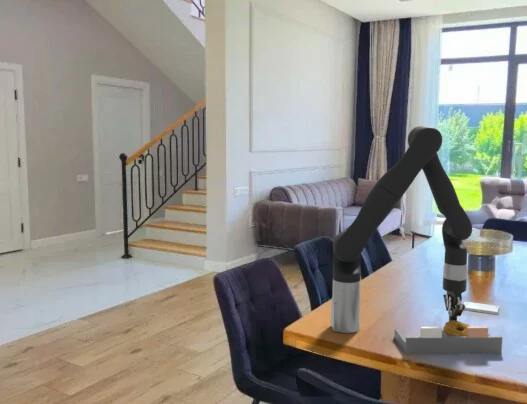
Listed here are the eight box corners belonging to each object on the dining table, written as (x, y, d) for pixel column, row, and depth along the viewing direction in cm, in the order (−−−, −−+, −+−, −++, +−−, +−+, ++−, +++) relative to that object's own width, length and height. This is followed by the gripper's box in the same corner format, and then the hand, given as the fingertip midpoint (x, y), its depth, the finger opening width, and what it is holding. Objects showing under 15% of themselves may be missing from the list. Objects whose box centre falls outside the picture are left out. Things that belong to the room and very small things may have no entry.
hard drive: (499, 305, 199) (464, 300, 205) (498, 311, 192) (462, 306, 197) (499, 309, 199) (464, 304, 205) (497, 316, 192) (461, 310, 197)
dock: (406, 354, 157) (407, 328, 156) (394, 337, 170) (395, 313, 169) (501, 353, 157) (503, 327, 156) (482, 336, 170) (483, 313, 169)
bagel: (442, 341, 166) (442, 327, 166) (443, 330, 177) (444, 316, 176) (475, 346, 163) (476, 332, 162) (474, 334, 173) (475, 321, 173)
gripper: (436, 271, 181) (434, 319, 183) (451, 281, 168) (449, 333, 170) (457, 271, 181) (455, 319, 183) (474, 281, 168) (472, 333, 170)
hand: (452, 325), depth 177 cm, fingers closed
